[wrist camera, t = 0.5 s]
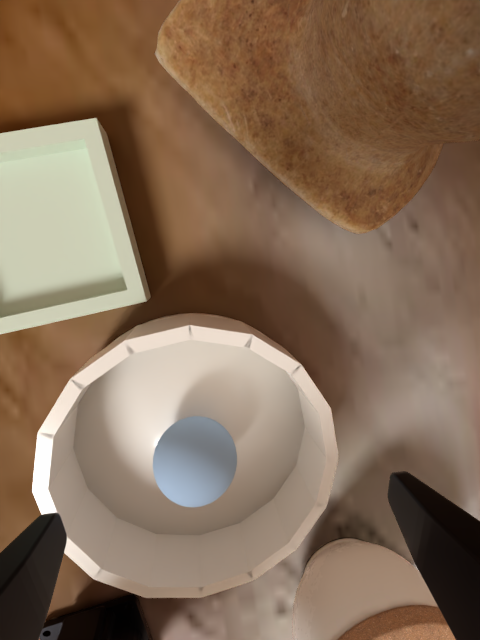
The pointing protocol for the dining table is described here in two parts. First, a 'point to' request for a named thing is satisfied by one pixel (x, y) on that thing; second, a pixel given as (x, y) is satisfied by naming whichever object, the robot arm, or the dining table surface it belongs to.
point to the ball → (194, 461)
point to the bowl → (140, 442)
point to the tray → (63, 227)
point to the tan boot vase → (334, 91)
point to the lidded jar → (364, 597)
